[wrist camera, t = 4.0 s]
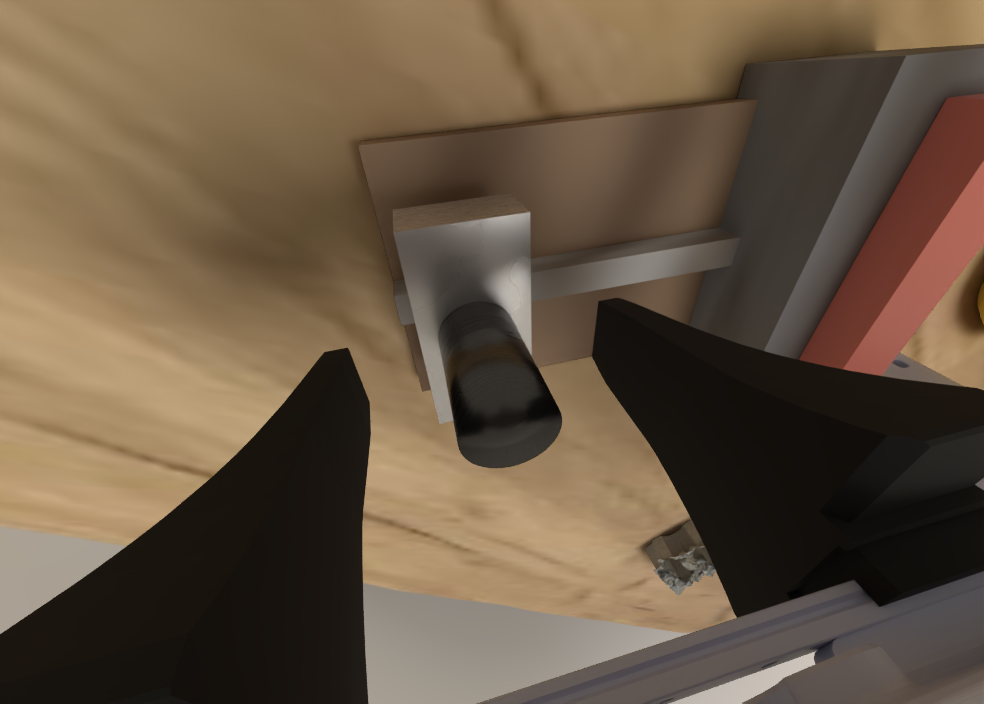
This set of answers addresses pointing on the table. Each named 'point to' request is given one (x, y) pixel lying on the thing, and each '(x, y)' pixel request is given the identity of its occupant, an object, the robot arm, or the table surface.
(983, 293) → the teapot
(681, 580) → the egg carton
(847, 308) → the bar
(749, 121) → the rail stand
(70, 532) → the table surface
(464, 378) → the carriage
